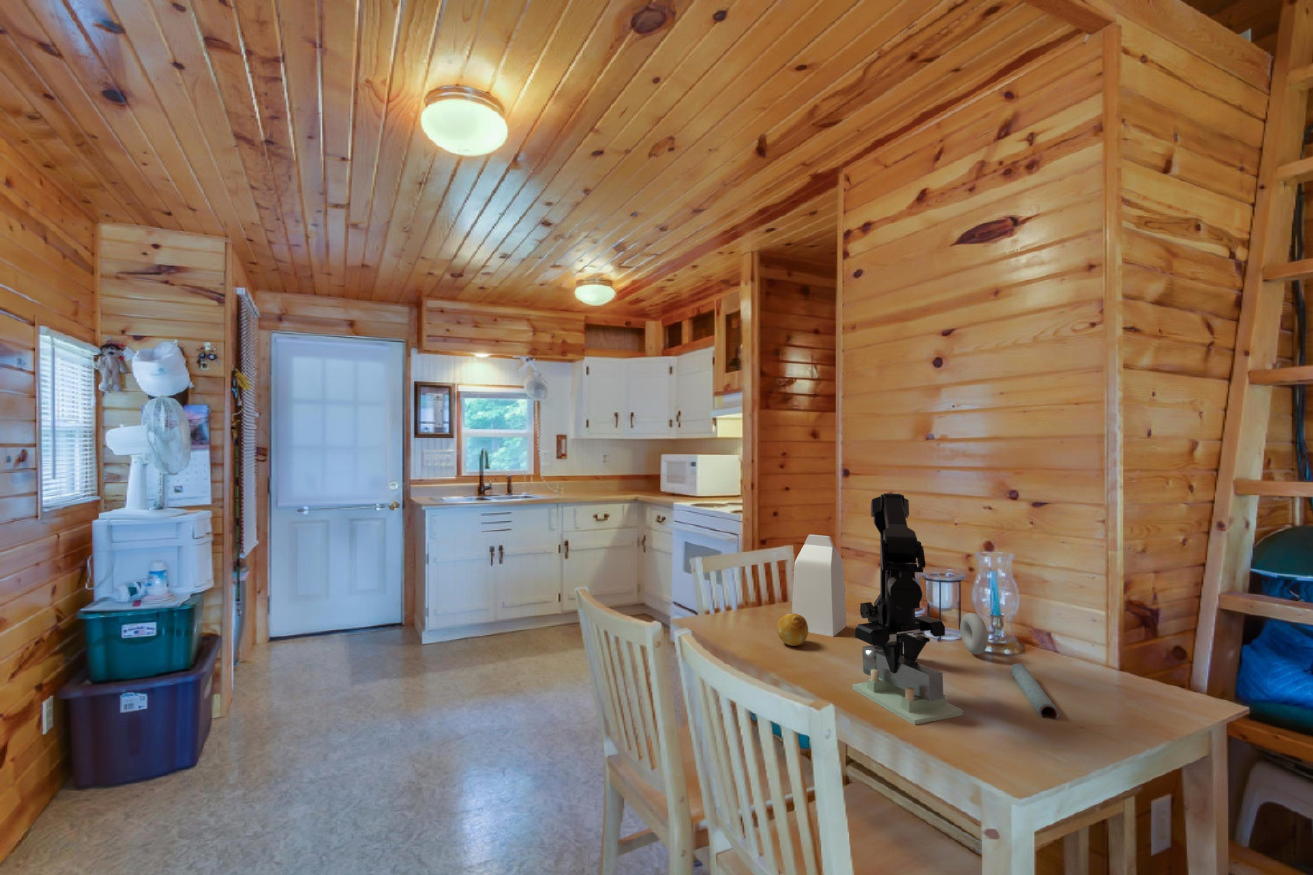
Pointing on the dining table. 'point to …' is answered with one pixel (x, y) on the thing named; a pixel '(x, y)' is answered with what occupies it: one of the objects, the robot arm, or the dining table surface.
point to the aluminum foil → (1033, 691)
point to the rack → (905, 701)
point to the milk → (820, 586)
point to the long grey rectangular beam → (905, 673)
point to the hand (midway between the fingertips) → (900, 671)
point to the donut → (974, 633)
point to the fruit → (792, 629)
